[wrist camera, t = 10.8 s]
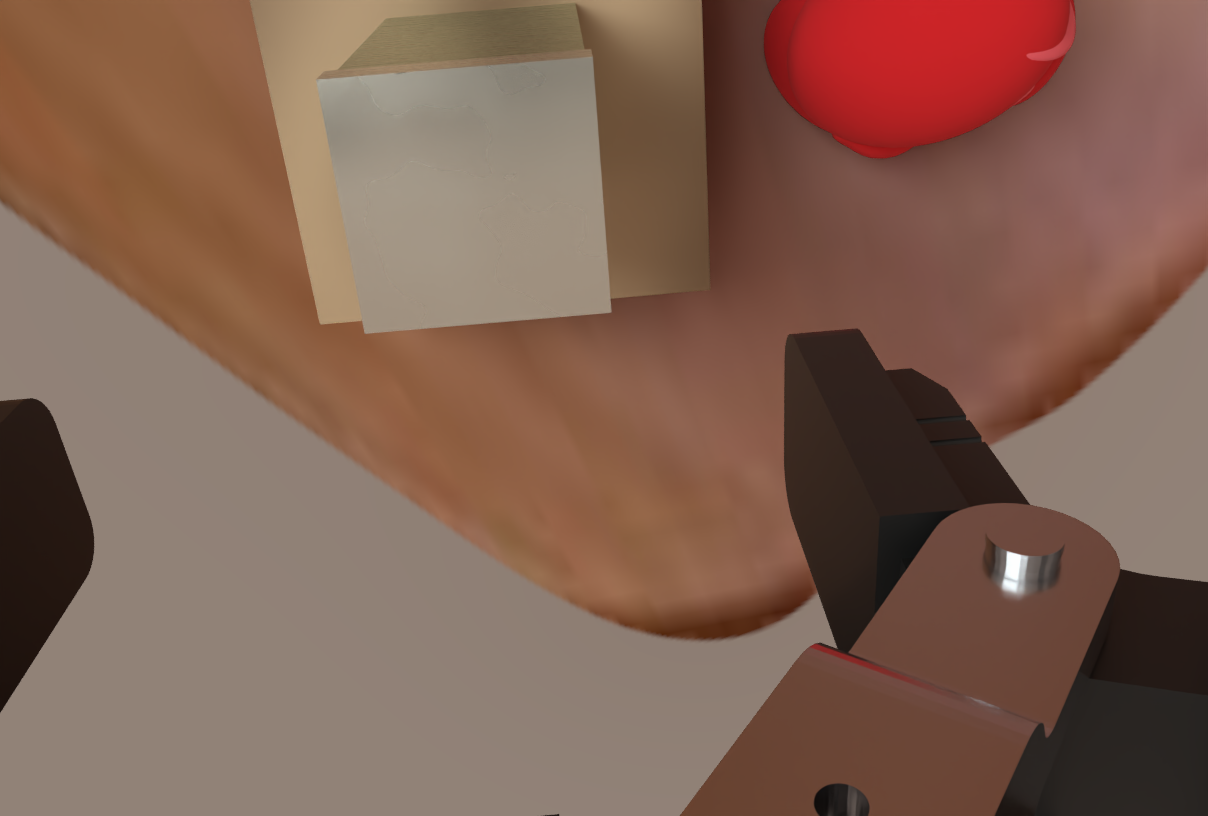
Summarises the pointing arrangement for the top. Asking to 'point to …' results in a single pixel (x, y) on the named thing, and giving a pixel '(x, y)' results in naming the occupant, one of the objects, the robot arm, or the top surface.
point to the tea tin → (470, 169)
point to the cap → (912, 64)
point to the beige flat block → (624, 114)
